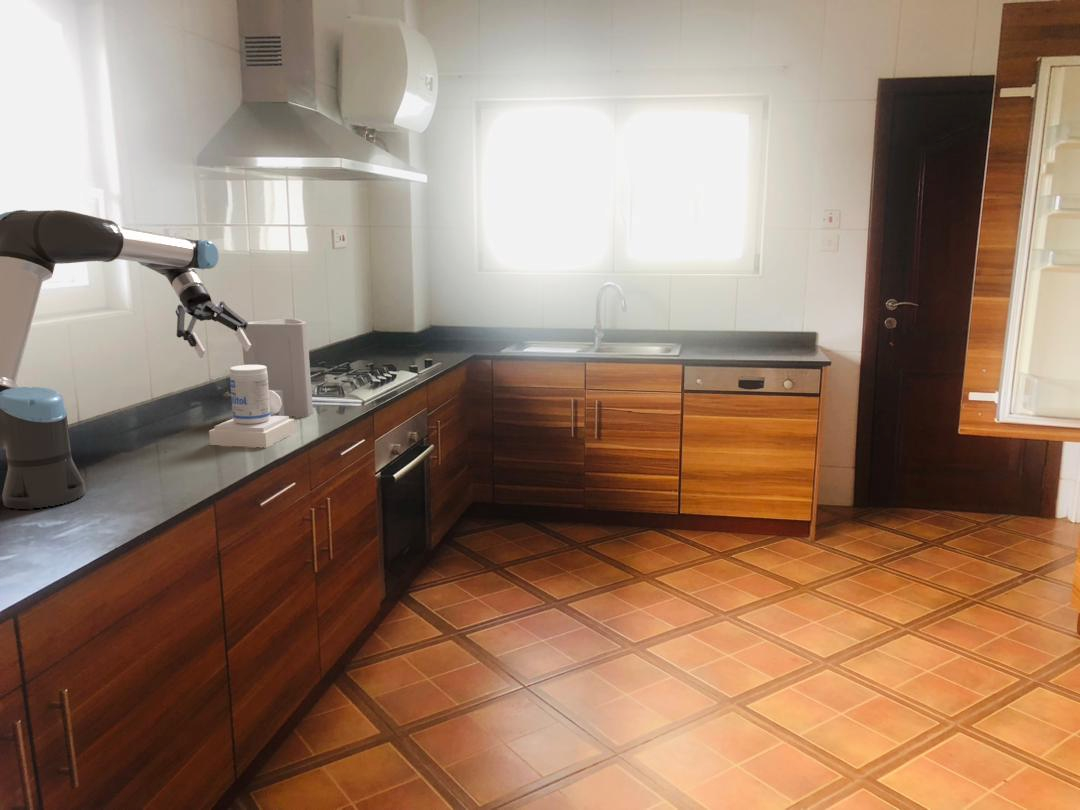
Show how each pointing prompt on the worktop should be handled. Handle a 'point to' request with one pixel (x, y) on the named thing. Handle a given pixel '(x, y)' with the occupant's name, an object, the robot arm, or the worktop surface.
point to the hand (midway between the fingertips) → (226, 351)
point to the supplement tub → (249, 394)
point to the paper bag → (283, 361)
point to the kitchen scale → (256, 428)
